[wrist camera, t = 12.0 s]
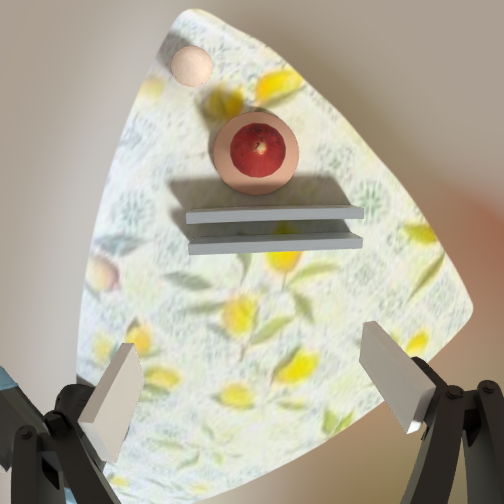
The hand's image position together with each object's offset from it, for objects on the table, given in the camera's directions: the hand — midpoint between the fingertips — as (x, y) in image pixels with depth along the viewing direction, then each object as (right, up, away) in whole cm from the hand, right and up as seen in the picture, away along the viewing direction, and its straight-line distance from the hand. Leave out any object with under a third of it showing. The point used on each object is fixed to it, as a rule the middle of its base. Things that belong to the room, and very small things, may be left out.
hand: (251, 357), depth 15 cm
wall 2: (+3, +11, +20) cm, 23 cm away
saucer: (+1, +18, +18) cm, 25 cm away
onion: (+1, +17, +17) cm, 25 cm away
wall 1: (+3, +7, +21) cm, 22 cm away
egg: (-7, +27, +16) cm, 32 cm away
